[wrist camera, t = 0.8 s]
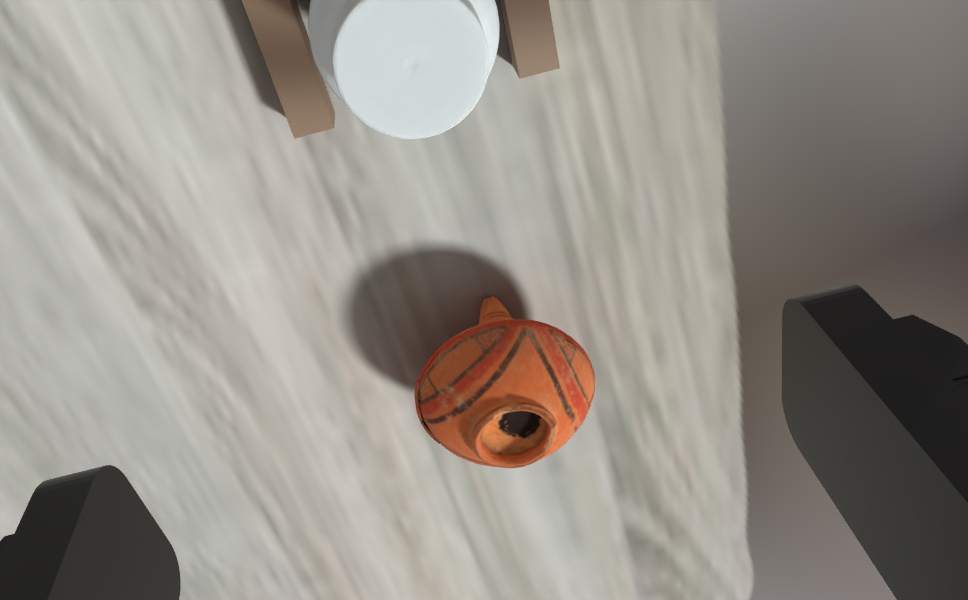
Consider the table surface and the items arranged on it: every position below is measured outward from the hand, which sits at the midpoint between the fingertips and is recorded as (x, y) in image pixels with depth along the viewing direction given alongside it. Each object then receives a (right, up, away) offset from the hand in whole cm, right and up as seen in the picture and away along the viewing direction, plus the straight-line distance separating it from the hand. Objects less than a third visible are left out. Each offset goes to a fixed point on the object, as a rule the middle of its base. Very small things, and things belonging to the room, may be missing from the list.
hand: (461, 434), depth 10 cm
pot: (+1, -1, +28) cm, 28 cm away
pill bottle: (-3, +13, +19) cm, 23 cm away
